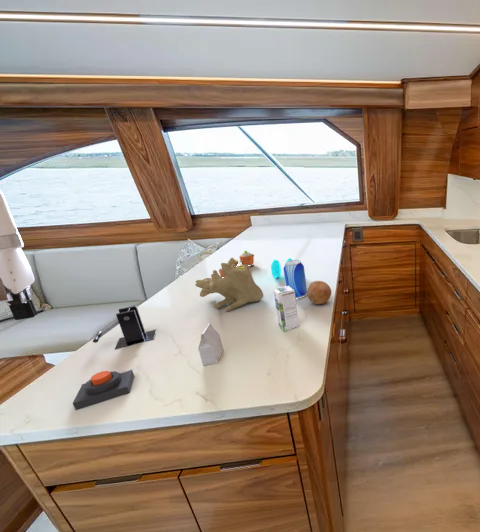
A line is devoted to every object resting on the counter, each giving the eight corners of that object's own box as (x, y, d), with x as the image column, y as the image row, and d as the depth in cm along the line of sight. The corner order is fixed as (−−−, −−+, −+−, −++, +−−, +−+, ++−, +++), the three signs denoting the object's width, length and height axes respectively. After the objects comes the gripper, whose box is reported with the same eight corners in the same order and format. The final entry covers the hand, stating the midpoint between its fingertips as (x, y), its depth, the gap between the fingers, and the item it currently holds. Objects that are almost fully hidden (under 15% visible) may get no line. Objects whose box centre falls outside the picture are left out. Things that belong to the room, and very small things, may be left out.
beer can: (292, 292, 137) (287, 259, 132) (310, 292, 136) (305, 259, 131) (284, 300, 129) (279, 265, 124) (303, 300, 129) (299, 265, 123)
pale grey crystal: (223, 350, 94) (216, 322, 91) (217, 363, 88) (209, 333, 85) (210, 352, 93) (203, 324, 90) (203, 365, 87) (194, 335, 84)
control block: (75, 410, 71) (69, 397, 70) (85, 391, 78) (79, 378, 77) (129, 393, 77) (124, 380, 75) (134, 376, 83) (130, 364, 82)
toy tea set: (229, 265, 178) (225, 249, 175) (257, 262, 182) (254, 247, 178) (215, 280, 154) (211, 262, 151) (248, 277, 158) (244, 259, 155)
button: (91, 387, 74) (88, 381, 73) (94, 379, 77) (92, 374, 76) (110, 382, 76) (108, 376, 75) (113, 374, 78) (111, 368, 78)
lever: (97, 344, 92) (89, 340, 91) (102, 336, 97) (94, 331, 96) (134, 317, 96) (127, 313, 94) (137, 310, 100) (130, 306, 99)
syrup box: (278, 325, 108) (272, 289, 103) (294, 320, 112) (288, 284, 107) (283, 332, 104) (277, 294, 99) (300, 326, 107) (294, 289, 103)
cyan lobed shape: (293, 279, 153) (290, 261, 149) (272, 281, 151) (269, 262, 147) (295, 273, 162) (292, 255, 159) (275, 275, 160) (272, 257, 157)
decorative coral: (275, 281, 118) (212, 247, 109) (243, 330, 115) (175, 299, 106) (275, 275, 142) (223, 247, 133) (248, 316, 138) (193, 290, 129)
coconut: (337, 300, 128) (335, 278, 124) (321, 310, 119) (318, 287, 116) (319, 296, 132) (317, 275, 129) (303, 305, 124) (300, 283, 120)
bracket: (115, 352, 94) (102, 319, 91) (120, 340, 101) (108, 309, 97) (155, 341, 100) (144, 310, 96) (157, 331, 106) (147, 301, 102)
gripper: (-12, 239, 70) (18, 309, 76) (-56, 253, 58) (-16, 335, 64) (35, 235, 74) (60, 302, 80) (3, 248, 62) (35, 326, 68)
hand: (26, 317), depth 72 cm, fingers closed
